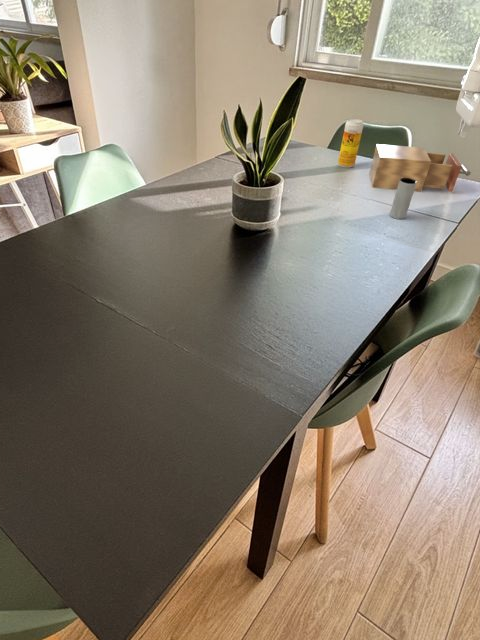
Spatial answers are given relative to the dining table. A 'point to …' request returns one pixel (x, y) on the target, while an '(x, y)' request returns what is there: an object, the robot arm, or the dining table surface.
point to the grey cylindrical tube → (403, 198)
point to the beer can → (350, 143)
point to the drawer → (444, 171)
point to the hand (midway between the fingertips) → (461, 136)
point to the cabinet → (398, 166)
